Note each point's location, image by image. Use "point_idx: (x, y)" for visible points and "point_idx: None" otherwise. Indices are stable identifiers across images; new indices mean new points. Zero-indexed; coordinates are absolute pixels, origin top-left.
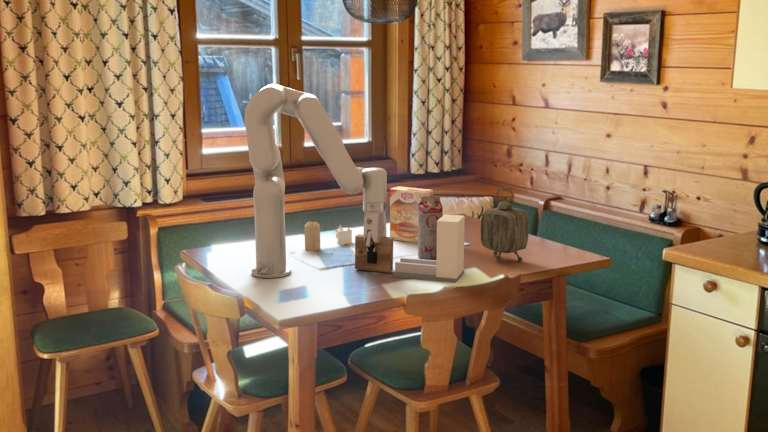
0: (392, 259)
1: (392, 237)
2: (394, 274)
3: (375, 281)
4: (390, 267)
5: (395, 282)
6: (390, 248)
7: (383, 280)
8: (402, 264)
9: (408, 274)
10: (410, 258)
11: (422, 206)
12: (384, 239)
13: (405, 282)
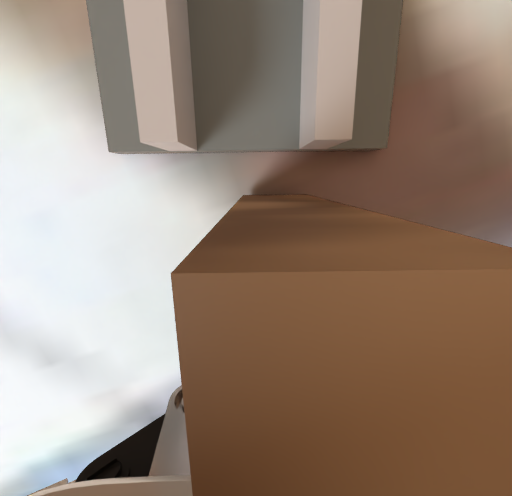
0: (254, 200)
1: (189, 308)
2: (388, 132)
3: (493, 224)
4: (302, 196)
5: (504, 85)
6: (384, 215)
7: (465, 183)
8: (354, 55)
9: (379, 9)
10: (134, 24)
11: None
12: (502, 463)
13: (497, 5)
